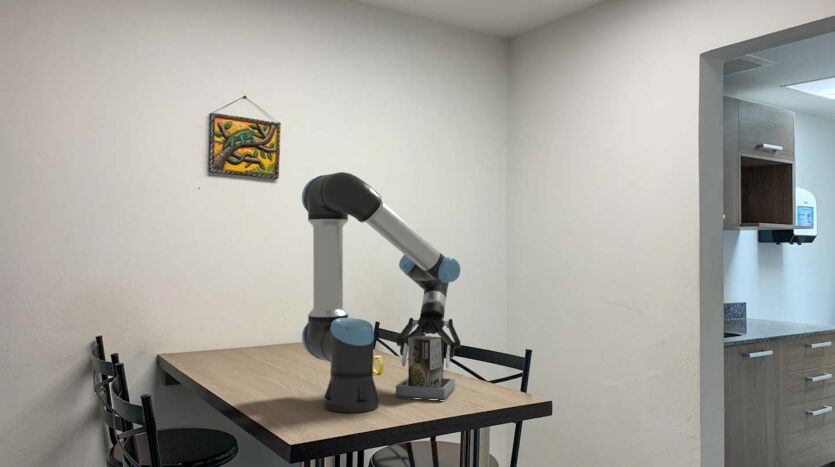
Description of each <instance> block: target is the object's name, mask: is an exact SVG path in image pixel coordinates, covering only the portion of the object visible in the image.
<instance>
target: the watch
mask: <svg viewBox="0 0 835 467" xmlns="http://www.w3.org/2000/svg"><path fill="white" fill-rule="evenodd" d="M376 360H378V362H379V370H378V371H377V369H376V366H375V364H376ZM383 372H384V361H383V358H382V356H381V355H373V374H377V375H380V374H382V373H383Z"/></svg>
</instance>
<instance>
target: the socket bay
mask: <svg viewBox="0 0 835 467" xmlns="http://www.w3.org/2000/svg"><path fill="white" fill-rule="evenodd" d="M454 390H455V391H456V378H448V377H443V387H442V388H435V387H420V386H408V376H407V377H405V378H404V379H403V380H402V381H401V382H399V383H397V384H396V385H395V398H396V397H397V398H396V399H406V398H421V399H438V400H445V399H446V398H447V397H448V396H449V395H450V394H451V393H452V392H453V391H454ZM455 391H454V392H455ZM454 392H453V393H454ZM453 393H452V394H453ZM452 394H451V395H452ZM451 395H450V396H451ZM450 396H449V397H450ZM449 397H448V398H449ZM448 398H447V399H448ZM447 399H446V400H447ZM446 400H445V401H446Z"/></svg>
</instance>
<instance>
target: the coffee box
mask: <svg viewBox="0 0 835 467" xmlns="http://www.w3.org/2000/svg"><path fill="white" fill-rule="evenodd" d="M407 357H408V359H407V360H408V365H407V366H408V367H407V368H408V370H407V371H408V376H407V377H408V386H420V387H435V388H442V387H443V378H444V340H443V338H442V337H441V336H434V335H427V334H425V335H424V334H422V335H418V336H413V337H408V352H407Z"/></svg>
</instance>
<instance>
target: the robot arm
mask: <svg viewBox="0 0 835 467" xmlns="http://www.w3.org/2000/svg"><path fill="white" fill-rule="evenodd" d="M301 202H302V205H303V208H304V209H305V210H306V212H307V217H308V218H307V221H308V222H309V224H310V225H311V226H312V227H313V233H312V234H313V238H312V239H313V240H312V241H313V242H312V243H313V246H312V248H313V251H312V252H313V259H312V260H313V265H312V266H313V273H312V274H313V306H312V307H313V308H312V310H310V312H309V313H308V315H307V321H308V322H307V323H306V324H305V326H304V327H303V330H302V331H301V332H302V333H301V342H302V345H303V347H304V349H305V351H306V352H307V353H308V354H309V355H311V356H313V357H314V358H316V359H318V360H322V361H327V362H330V377H329V378H330V379H329V382H328V384H327V388H326V391H325V393H324V396H323V408H324V409H326V410H328V411H330V412H333V413H334V412H335V413H344V414H345V413H347V414H348V413H349V414H353V413H356V414H357V413H364V412H365V413H366V412H369V411H373V410H376V409H377V408H379V407H380V396H379V393H378V389H377V386H376V382H375V380H374V373H373V357H374V340H375V334H374V327H373V324H372V323H371V322H370V321H367V320H365V319H361V318H355V317H349V313H348V311H346V309H344V300H343V299H344V292H343V291H344V268H343V266H344V249H343V248H344V245H343V244H344V242H343V240H344V239H343V238H344V230H343V228H344V226H345V225H346V223H348V221H349V216H350V217H353V218H355V219H356V220H357V221H358V222H360V223H366V224H367V225H368V226H370V227H371V228H372V229H373V230H375V231H376V232H377V233H378V234H379V235H380V236H382V237H383V239H386V241H387V242H389V243H390V244H391V245H393V246H394V247H395V248H396V249H397V250H399V251H400V252H401V253H402V254H403V255H402V256H401V258H400V260H399V263H398V267H399V269H400V270H401V271H402V272H403V273H404V275H405V276H407V277H408V278H410V279H411V280H412V281H413V282H414V283H415V284H417V285H418V286H419V287H420V288H421V289H422V290H423V297H422V301H421V302H422V303H421V309H420V316H419V318H418V319H414V317H410V318H409V319H408V322H407V323H406V326H405V327H404V328H403V329H402V331H401V332H400V333H399V334H398V336H397V337H396V338H395V342H396V346H397V347H400V349H399V354H400V356H401V360H400V362H401V365H402V367H403V368H404V367H406V363H407V357H408V337H413V336H418V335H424V334H425V335H429V334H431V335H436V334H437V335H438V337H442V338H443V342H445V343H446V344H447V346H446V347H447V348H446V356H445V368H446V369H449V368H450V363H451V359H453V358H454V357H455V356H454V355H455V350H456V349H461V348H462V345H461V340H460V337H459V336H458V333H457V331H456V329H455V327H454V322H453V319H452V318H449V319H448V320H445V312H446V304H447V297H448V296H447V295H448V294H447V293H448V290H449V284H450V283H454V282H455V281H457V280H458V279H459V277H460V274H461V265H460V262H459V261H458V260H457V259H456V258H453V257H449V256H447V257H446V256H445V255H443V253H441V252H440V251H439V250H438V249H437V248H436V247H434V245H432V244H431V243H430V242H428V240H426V238H424V237H423V236H422V235H421V234H420V233H419V232H418V231H416V230H415V229H414V228H413V227H412V226H411V225H410V224H408V223H407V222H406V221H405V220H404V219H403V218H402V217H400V215H398V214H397V213H396V212H395V211H394V210H393V209H391V208H390V207H389V206H388V205H387V204H386V203H385V202H384V197H383V196H382V195H381V194H380V193H379V192H378V191H376V189H375V188H373V187H372V186H371V185H369V184H368V183H367V182H365V181H364V180H363V179H361V178H359V176H356V175H354V174H352V173H350V172H344V171H343V172H342V171H341V172H340V171H338V172H335V173H330V174H323V175H322V174H321V175H318V176H316V177H314V178H312V179H310V180H309V181H308V182H307V183H306V184H305V186H304V188H303V190H302V192H301ZM444 327H446V328H447V329H448V330H449V333H450V334H451V337H452V339H451V337H450V335H448V334H447V332H445V330H444ZM413 328H415V329H413Z"/></svg>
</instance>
